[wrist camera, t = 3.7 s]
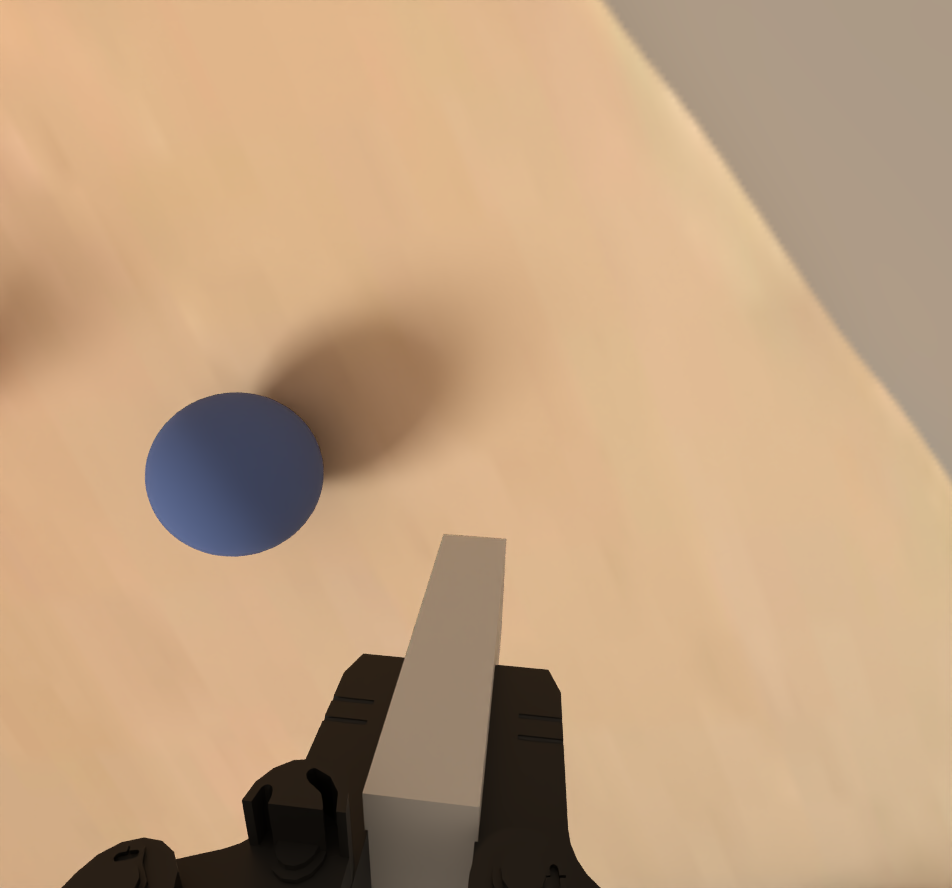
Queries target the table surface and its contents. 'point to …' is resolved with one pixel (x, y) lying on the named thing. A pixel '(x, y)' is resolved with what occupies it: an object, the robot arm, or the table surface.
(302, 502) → the ball
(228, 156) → the table surface
